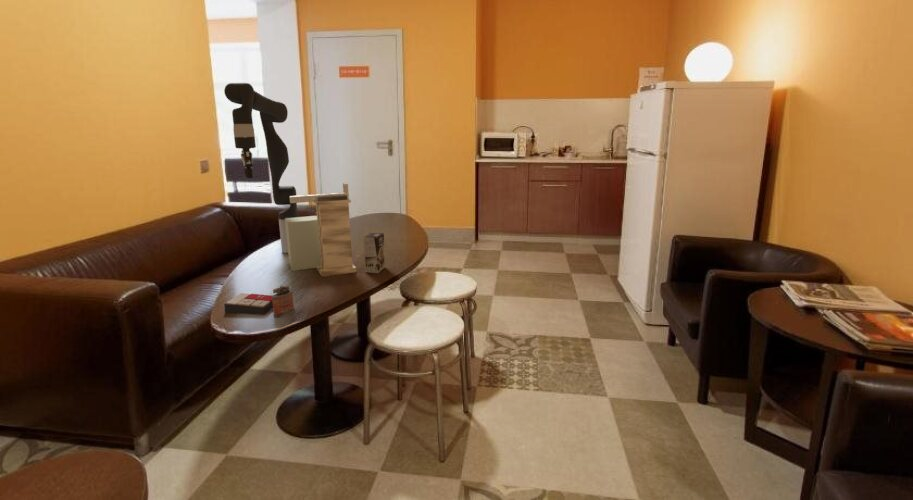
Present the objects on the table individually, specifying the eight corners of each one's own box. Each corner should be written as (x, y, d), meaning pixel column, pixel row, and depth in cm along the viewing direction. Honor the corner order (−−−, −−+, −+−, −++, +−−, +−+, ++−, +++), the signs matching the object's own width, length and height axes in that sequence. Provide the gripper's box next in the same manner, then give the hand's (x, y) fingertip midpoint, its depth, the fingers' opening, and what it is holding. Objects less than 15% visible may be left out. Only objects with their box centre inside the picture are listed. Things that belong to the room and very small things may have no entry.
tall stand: (317, 269, 224) (311, 195, 215) (350, 265, 230) (346, 193, 221) (322, 276, 214) (315, 199, 206) (356, 272, 221) (351, 196, 212)
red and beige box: (264, 306, 173) (223, 302, 174) (265, 317, 174) (224, 313, 176) (279, 295, 183) (240, 291, 185) (279, 305, 185) (241, 302, 186)
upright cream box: (289, 264, 232) (284, 218, 226) (324, 260, 238) (320, 215, 232) (292, 270, 223) (287, 222, 217) (328, 266, 229) (324, 219, 224)
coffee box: (378, 273, 219) (377, 237, 214) (365, 272, 220) (363, 236, 216) (385, 267, 227) (384, 232, 223) (372, 266, 228) (370, 232, 224)
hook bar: (290, 202, 208) (288, 186, 207) (347, 197, 218) (346, 183, 216) (290, 203, 206) (289, 187, 204) (348, 198, 215) (347, 183, 214)
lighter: (290, 309, 179) (288, 282, 176) (297, 311, 177) (294, 284, 174) (271, 316, 172) (268, 289, 170) (277, 318, 170) (274, 290, 168)
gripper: (233, 135, 202) (237, 176, 206) (235, 136, 189) (239, 179, 193) (253, 135, 205) (257, 175, 209) (256, 136, 193) (260, 178, 197)
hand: (248, 177), depth 201 cm, fingers open, 8 cm apart
